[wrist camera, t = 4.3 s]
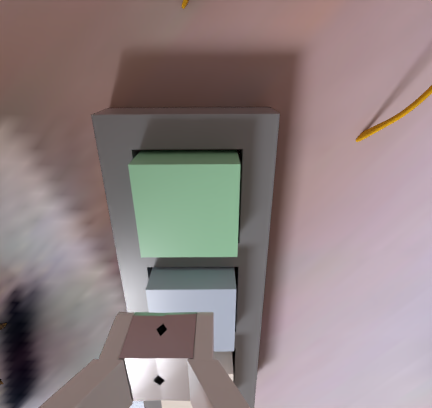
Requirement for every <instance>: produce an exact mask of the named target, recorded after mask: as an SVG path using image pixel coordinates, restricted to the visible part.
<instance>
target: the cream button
mask: <svg viewBox="0 0 432 408" xmlns="http://www.w3.org/2000/svg"><path fill="white" fill-rule="evenodd" d="M214 359H218V360H219V362H220V363H221V365H222V366H223V368H224V369H225V371H226V372H227V374H228V375H229V377H230V378H231V380H232V381H233V359H232V351H227V352H214ZM161 404H162V408H193V407H192V405H191V401H169V400H161Z"/></svg>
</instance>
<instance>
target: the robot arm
mask: <svg viewBox="0 0 432 408" xmlns="http://www.w3.org/2000/svg"><path fill="white" fill-rule="evenodd" d="M154 400H169V401H191V405H192V407H193V408H250V407H249V405H248V404H247V402H246V401H245V399H244V398H243V396H242V395H241V393H240V392H239V390H238V389H237V387H236V386H235V384H234V383H233V381H232V380H231V378H230V377H229V375H228V374H227V372H226V371H225V369H224V368H223V366H222V365H221V363H220V362H219V360H218V359H214V314H213V312H198V313H197V312H167V313H151V312H119V313H118V314H117V316H116V317H115V320H114V322H113V325H112V327H111V329H110V332H109V334H108V337H107V339H106V342H105V344H104V347H103V349H102V352H101V354H100V357H99V359H93V360H92V361H91V362H90V363H89V364H88V365H87V366H85V367H84V368H83V369H82V370H81V371H80V372H79V373H77V374H76V375H75V376H74V377H73V378H72V379H71V380H70V381H68V382H67V383H66V384H65V385H64V386H63V387H62V388H60V389H59V390H58V391H57V392H56V393H55V394H54V395H52V396H51V397H50V398H49V399H48V400H47V401H46V402H45V403H43V404H42V405H41V406H40V407H39V408H129V407H130V406H131V405H132V401H154Z"/></svg>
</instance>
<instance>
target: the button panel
mask: <svg viewBox="0 0 432 408" xmlns="http://www.w3.org/2000/svg"><path fill="white" fill-rule="evenodd" d="M91 116H92V122H93V127H94V133H95V138H96V144H97V149H98V155H99V160H100V166H101V171H102V177H103V182H104V188H105V193H106V199H107V204H108V209H109V215H110V220H111V226H112V231H113V237H114V242H115V248H116V253H117V259H118V264H119V270H120V275H121V281H122V286H123V292H124V297H125V303H126V308H127V312H149V311H148V304H147V297H146V287H147V284H148V280H149V277H150V274H151V271H152V267H235V281H236V313H235V342H234V351H233V354H232V359H233V383H234V384H235V386H236V387H237V389H238V390H239V392H240V393H241V395H242V396H243V398H244V399H245V401H246V402H247V404H248V405H249V407H250V408H254V403H255V391H256V380H257V368H258V357H259V346H260V334H261V323H262V311H263V300H264V289H265V277H266V266H267V254H268V243H269V232H270V220H271V209H272V197H273V186H274V175H275V163H276V152H277V140H278V129H279V117H280V114H279V113H278V112H277V111H275V110H274V109H272V108H271V107H208V108H107V109H105V110H102V111H100V112H97V113H94V114H92V115H91ZM151 149H239V160H240V164H241V165H240V195H239V224H238V254H237V257H143V258H141V254H140V247H139V240H138V232H137V225H136V218H135V211H134V204H133V197H132V189H131V182H130V175H129V168H128V164H129V163H130V162H131V161H132V160H133V159H134V157H135V156H136V155H137V154H138V153H139V152H140V151H141V150H151ZM144 407H145V408H162V404H161V400H154V401H144Z"/></svg>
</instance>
